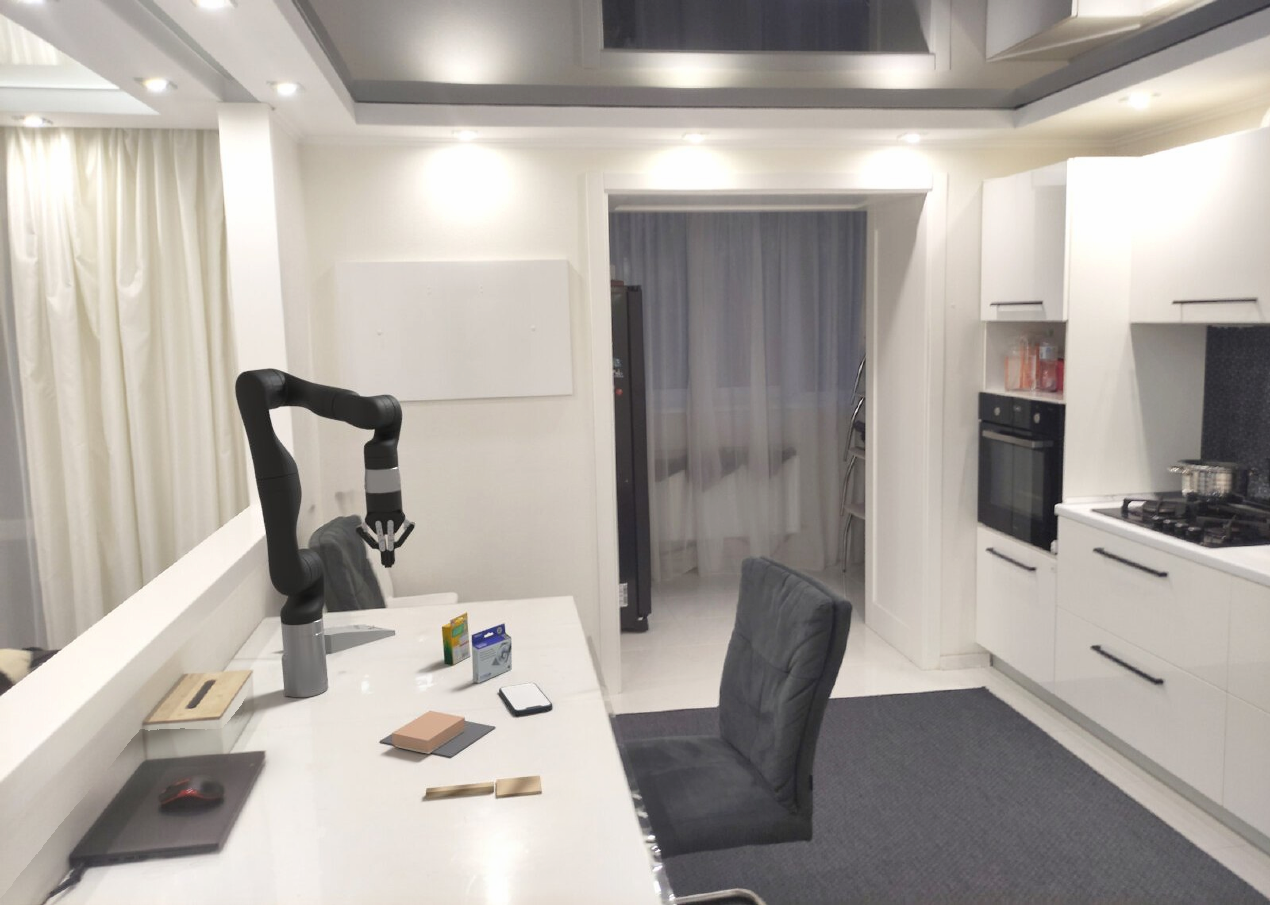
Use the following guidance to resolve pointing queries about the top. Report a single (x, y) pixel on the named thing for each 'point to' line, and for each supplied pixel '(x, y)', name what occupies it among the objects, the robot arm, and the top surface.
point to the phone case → (525, 699)
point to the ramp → (353, 636)
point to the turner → (491, 788)
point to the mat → (457, 739)
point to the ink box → (491, 653)
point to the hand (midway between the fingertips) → (388, 566)
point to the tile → (428, 732)
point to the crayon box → (456, 640)
